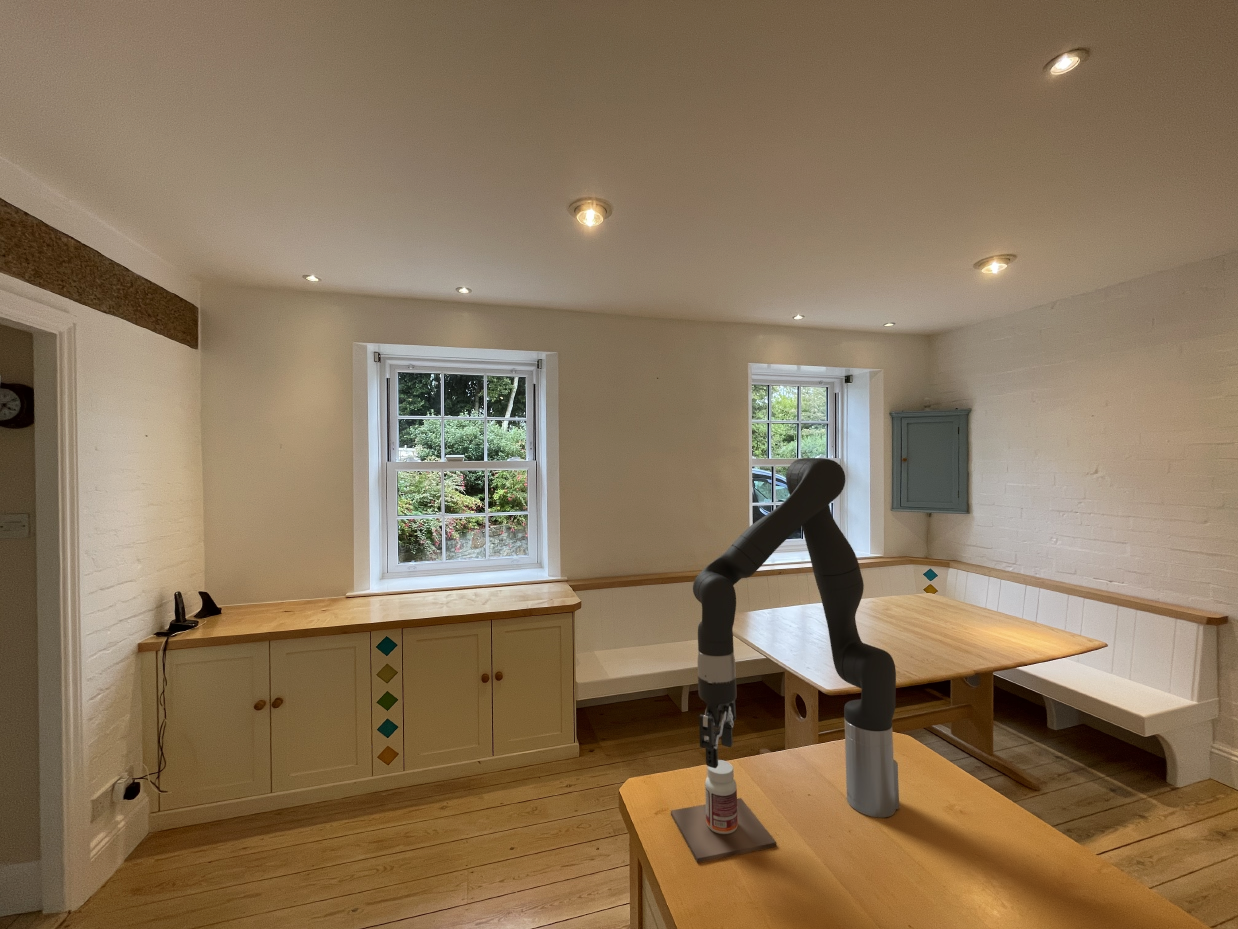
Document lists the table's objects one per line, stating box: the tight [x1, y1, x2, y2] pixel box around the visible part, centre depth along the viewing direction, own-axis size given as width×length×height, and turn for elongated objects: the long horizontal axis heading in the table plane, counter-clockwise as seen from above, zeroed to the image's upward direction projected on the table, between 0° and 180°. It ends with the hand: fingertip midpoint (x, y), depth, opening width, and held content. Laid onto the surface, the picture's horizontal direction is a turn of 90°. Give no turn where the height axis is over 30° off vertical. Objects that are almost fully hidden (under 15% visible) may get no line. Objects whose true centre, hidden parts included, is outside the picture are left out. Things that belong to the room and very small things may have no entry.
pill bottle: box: [704, 759, 738, 834], centre depth 100 cm, size 6×6×11 cm
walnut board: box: [670, 797, 778, 864], centre depth 100 cm, size 16×14×1 cm
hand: (719, 755), depth 101 cm, fingers open, 8 cm apart
